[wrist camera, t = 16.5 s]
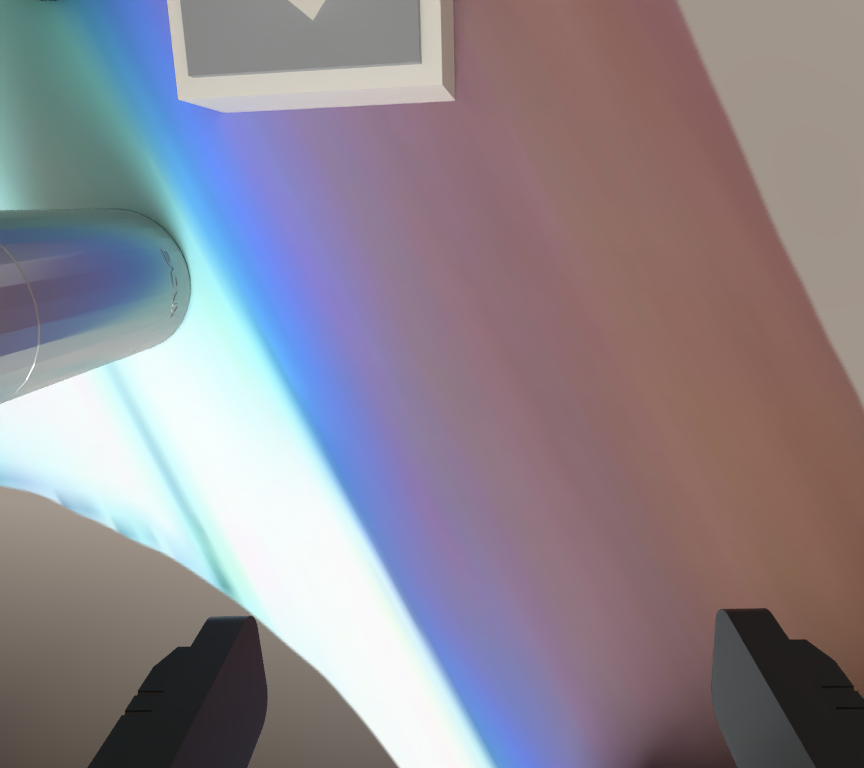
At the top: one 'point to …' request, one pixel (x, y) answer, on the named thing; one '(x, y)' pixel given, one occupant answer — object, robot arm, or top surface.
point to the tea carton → (308, 6)
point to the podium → (312, 53)
